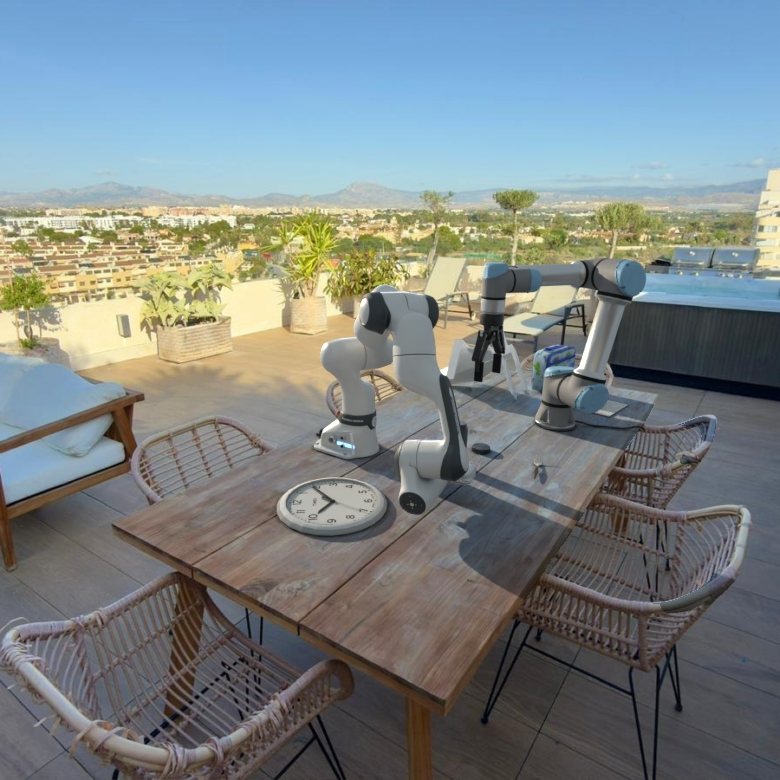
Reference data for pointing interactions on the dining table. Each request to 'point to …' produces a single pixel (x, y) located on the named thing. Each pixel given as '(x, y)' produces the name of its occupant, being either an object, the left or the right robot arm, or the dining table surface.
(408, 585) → the dining table surface
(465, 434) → the jar
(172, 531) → the dining table surface
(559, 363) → the lunch box
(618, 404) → the invitation card
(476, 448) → the lid
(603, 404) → the right robot arm
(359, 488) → the wall clock
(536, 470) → the fork
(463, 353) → the white plastic object
